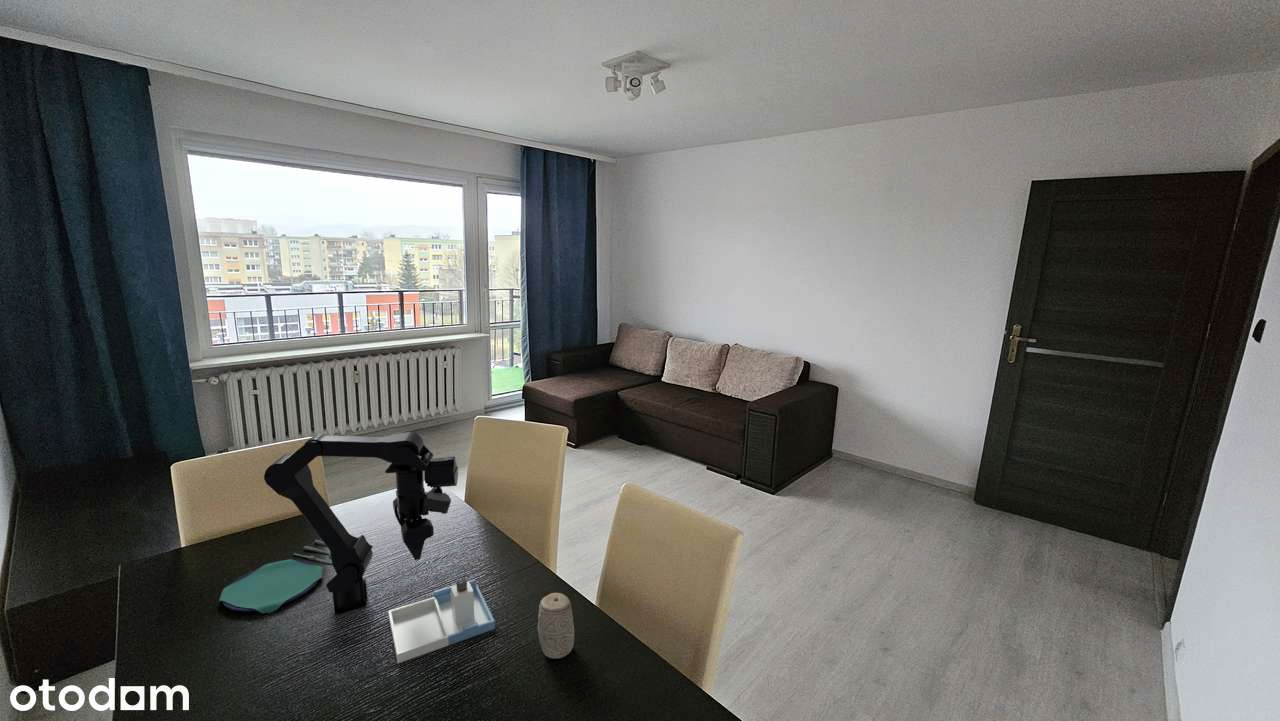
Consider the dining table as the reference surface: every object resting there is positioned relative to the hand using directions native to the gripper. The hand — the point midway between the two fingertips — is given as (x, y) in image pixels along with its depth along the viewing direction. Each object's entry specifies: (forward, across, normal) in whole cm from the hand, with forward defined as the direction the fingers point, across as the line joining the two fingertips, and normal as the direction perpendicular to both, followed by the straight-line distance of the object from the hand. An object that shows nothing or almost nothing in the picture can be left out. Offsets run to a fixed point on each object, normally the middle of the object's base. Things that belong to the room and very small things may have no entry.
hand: (414, 549), depth 120 cm
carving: (+13, -33, -22) cm, 42 cm away
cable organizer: (+12, -13, -3) cm, 18 cm away
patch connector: (+12, -13, -8) cm, 19 cm away
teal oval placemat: (+13, +24, +26) cm, 38 cm away
